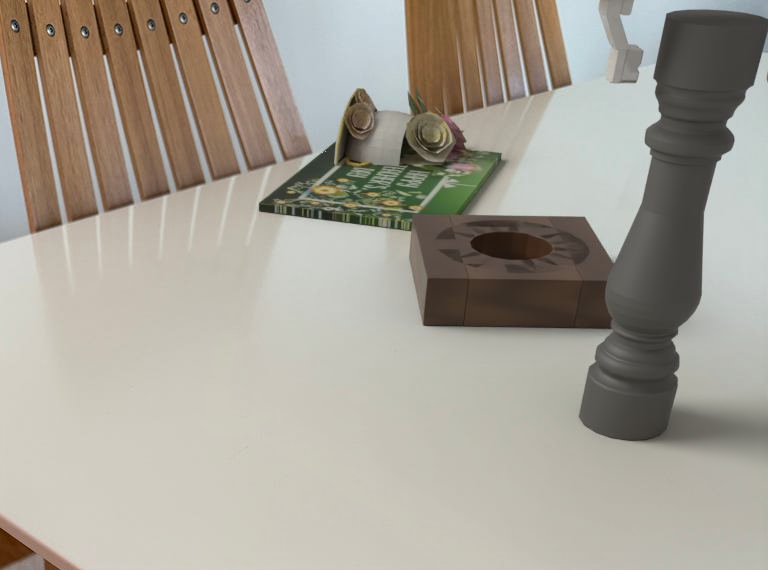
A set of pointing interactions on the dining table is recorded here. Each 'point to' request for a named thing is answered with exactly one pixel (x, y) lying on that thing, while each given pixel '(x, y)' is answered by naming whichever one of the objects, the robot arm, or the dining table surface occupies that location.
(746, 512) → the dining table surface
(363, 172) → the decorative card
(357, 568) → the dining table surface
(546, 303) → the holder
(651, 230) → the grey baluster
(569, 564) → the dining table surface
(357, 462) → the dining table surface
